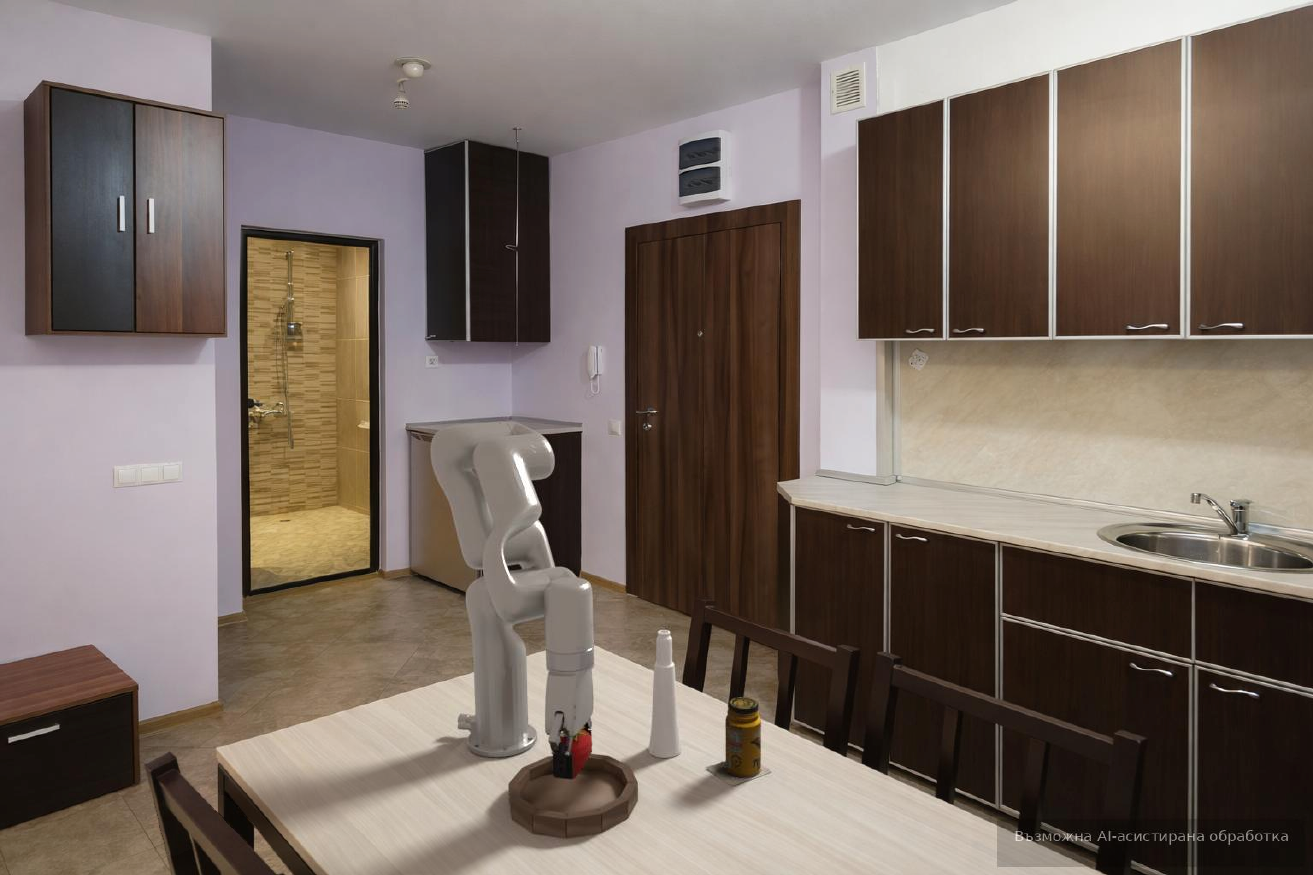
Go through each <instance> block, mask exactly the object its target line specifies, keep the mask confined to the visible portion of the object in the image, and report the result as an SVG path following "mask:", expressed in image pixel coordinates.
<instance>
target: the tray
mask: <svg viewBox="0 0 1313 875" xmlns="http://www.w3.org/2000/svg"><path fill="white" fill-rule="evenodd" d="M638 783H639V782H638V779H637V778H636V776H635V774H634V771H633V769H632V767H631V766H630V765H628V764H626V763H624V762H623V761H621V760H619V759H616V758H615V757H612V756H610V755H605V754H598V753H597V754H596V753H591V754H590V756H589V758H588V760H587V761H586V763H585V765H584V766H583V768H582V769H581V771H580V772H579V773H578V775H577V777H576V778H575V779H562V778H555V777H554V776H553V755H550V756H546V757H543V758H541V759H539V760H537V761H533V762H532V763H530V764H527V765H524V766H523V767H522V768H520V770H518V771H517V773H516V774H515V775H514V776H513V778H512V779H511V780H510V781H509V782H508V784H507V785H508V803H509V804H508V805H509V810H510V817H511V820H512V821H513V822H515V823H516V824H518V825H520V826H521V827H523V828H524V829H526V830H527V831H529V832H530V833H531V834H534V835H543V836H548V837H549V836H550V837H555V838H562V839H566V838H567V839H571V838H578V837H584V836H588V835H589V836H591V835H596V834H601V833H605V832H606V831H608V830H610V829H611V828H613V827H615V826H617V825H619V824H620V823H623V822H624V821H626V820H627V819H629V818H630V816H631V814H632V812H633V811H634V808H635V807H636V806H637V803H638V802H639V784H638Z"/></svg>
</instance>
